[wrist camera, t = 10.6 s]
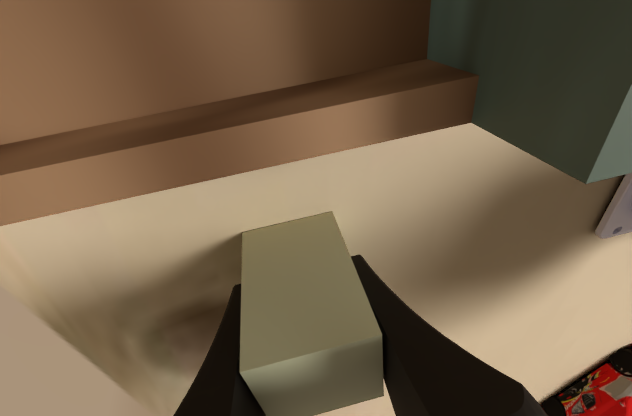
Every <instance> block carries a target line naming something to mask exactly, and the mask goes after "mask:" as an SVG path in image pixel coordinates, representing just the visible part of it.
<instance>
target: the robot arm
mask: <svg viewBox="0 0 632 416" xmlns="http://www.w3.org/2000/svg"><path fill="white" fill-rule="evenodd" d="M628 232H632V173H629V174H626V175H625V177H624V178H623V180H622V182H621V184H620V186H619V188H618V190H617V191H616V193H615V195H614V197H613V199H612V201H611V202H610V204H609V206H608V208H607V210H606V212H605V214H604V215H603V217H602V219H601V221H600V223H599V225H598V226H597V228H596V230H595V235H597V236H598V237H600V238H602V239H603V238H609V237H613V236H617V235H621V234H624V233H628ZM351 259H352V261H353V264H354V266H355V269H356V271H357V274H358V276H359V279H360V281H361V284H362V286H363V288H364V291H365V293H366V296H367V298H368V301H369V303H370V306H371V308H372V311H373V313H374V316H375V318H376V320H377V323H378V325H379V328H380V330H381V333H382V348H383V378H384V381H385V384H386V387H387V390H388V393H389V396H390V399H391V402H392V405H393V408H394V411H395V415H396V416H547V414H546V413H545V411H544V410H543V409H542V407H541V406H540V405H539V403H538V402H537V401H536V400H535V399H534V397H533V396H532V395H531V394H530V393H529V392H528V391H527V390H526V388H525V387H524V386H523V385H522V384H521V383H519V382H517V381H515V380H514V379H512V378H510V377H508V376H506V375H505V374H503V373H501V372H499V371H498V370H496V369H494V368H493V367H491V366H489V365H488V364H486V363H484V362H483V361H481V360H480V359H478V358H476V357H475V356H473V355H472V354H470V353H469V352H467V351H466V350H464V349H463V348H461V347H460V346H458V345H457V344H455V343H454V342H453V341H451V340H450V339H448V338H447V337H445V336H444V335H443V334H441V333H440V332H439V331H437V330H436V329H435V328H433V327H432V326H431V325H430V324H428V323H427V322H426V321H425V320H423V319H422V318H421V317H420V316H419V315H417V314H416V313H415V312H414V311H413V310H412V309H410V308H409V307H408V306H407V305H406V304H405V303H404V302H403V301H402V300H401V299H400V298H399V297H398V296H397V295H396V294H395V293H394V292H393V291H392V290H391V289H390V288H389V287H388V286H387V285H386V284H385V283H384V282H383V281H382V280H381V279H380V278H379V277H378V276H377V274H376V273H375V272H374V271H373V270H372V269H371V267H370V266H369V265H368V264H367V262H366V261H365V260H364V258H363V257H362V256H361V255H356V256H352V257H351ZM240 326H241V284H238V285H235V286H234V287H233V290H232V293H231V296H230V299H229V302H228V305H227V308H226V311H225V313H224V316H223V319H222V321H221V324H220V326H219V329H218V331H217V334H216V336H215V338H214V341H213V343H212V345H211V347H210V349H209V352H208V354H207V356H206V358H205V360H204V362H203V364H202V366H201V368H200V370H199V372H198V374H197V376H196V378H195V380H194V382H193V383H192V385H191V387H190V389H189V391H188V392H187V394H186V396H185V397H184V399H183V401H182V402H181V404H180V406H179V407H178V409H177V411H176V412H175V414H174V416H266V414H265V413H264V411H263V409H262V408H261V406H260V404H259V403H258V401H257V400H256V398H255V396H254V395H253V393H252V392H251V390H250V388H249V387H248V385H247V384H246V382H245V380H244V379H243V377H242V376H241V374H240Z"/></svg>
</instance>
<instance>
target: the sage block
mask: <svg viewBox="0 0 632 416" xmlns="http://www.w3.org/2000/svg"><path fill="white" fill-rule="evenodd" d="M240 374H241V376H242V377H243V379H244V380H245V382H246V384H247V385H248V387H249V388H250V390H251V392H252V393H253V395H254V396H255V398H256V400H257V401H258V403H259V404H260V406H261V408H262V409H263V411H264V413H265V414H266V416H314V415H318V414H321V413H325V412H328V411H332V410H335V409H339V408H342V407H346V406H350V405H353V404H357V403H360V402H364V401H367V400H371V399H374V398H378V397H382V396H384V390H383V348H382V333H381V330H380V328H379V325H378V323H377V320H376V318H375V316H374V313H373V311H372V308H371V306H370V303H369V301H368V298H367V296H366V293H365V291H364V288H363V286H362V284H361V281H360V279H359V276H358V274H357V271H356V269H355V266H354V264H353V261H352V259H351V256H350V254H349V252H348V249H347V247H346V244H345V242H344V239H343V237H342V234H341V232H340V229H339V227H338V224H337V222H336V220H335V217H334V215H333V212H328V213H323V214H319V215H315V216H310V217H306V218H302V219H298V220H293V221H289V222H285V223H281V224H276V225H272V226H268V227H263V228H259V229H255V230H251V231H246V232H242V278H241V326H240Z"/></svg>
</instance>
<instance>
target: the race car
mask: <svg viewBox="0 0 632 416" xmlns="http://www.w3.org/2000/svg"><path fill="white" fill-rule="evenodd" d="M609 358H610V362H611V363H606V364H604V365H603V366H601V367H600V368H598V369H597V370H596V371H594V372H593V373H591V374H590V375H588V376H587V377H585V378H584V379H582V380H581V381H579V382H578V383H576V384H575V385H573V386H572V387H570V388H569V389H567V390H566V391H564V392H563V393H561V394H560V395H558V396H551V397H549V398H548V399H547V400H545V401H544V402H542V406H543V408H542V409H543V410H544V411H545V413H546V414H547V416H632V350H629V349H619V350H618V351H617V352H616V353H614V354H612V355H611V356H610V357H609Z"/></svg>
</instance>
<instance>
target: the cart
mask: <svg viewBox="0 0 632 416" xmlns="http://www.w3.org/2000/svg"><path fill="white" fill-rule="evenodd" d="M467 123H473V124H475V125H477V126H479V127H481V128H482V129H484V130H486V131H488V132H490V133H492V134H494V135H495V136H497V137H499V138H501V139H503V140H505V141H507V142H508V143H510V144H512V145H514V146H516V147H518V148H520V149H522V150H523V151H525V152H527V153H529V154H531V155H533V156H535V157H536V158H538V159H540V160H542V161H544V162H546V163H548V164H549V165H551V166H553V167H555V168H557V169H559V170H561V171H562V172H564V173H566V174H568V175H570V176H572V177H574V178H575V179H577V180H579V181H581V182H583V183H585V184H588V183H592V182H596V181H600V180H604V179H608V178H613V177H617V176H621V175H625V174H629V173H632V0H0V226H3V225H7V224H12V223H17V222H21V221H26V220H30V219H35V218H39V217H44V216H48V215H53V214H58V213H62V212H67V211H71V210H76V209H80V208H85V207H89V206H94V205H98V204H103V203H108V202H112V201H117V200H121V199H126V198H130V197H135V196H139V195H144V194H148V193H153V192H158V191H162V190H167V189H171V188H176V187H180V186H185V185H189V184H194V183H199V182H203V181H208V180H212V179H217V178H221V177H226V176H230V175H235V174H239V173H244V172H249V171H253V170H258V169H262V168H267V167H271V166H276V165H280V164H285V163H290V162H294V161H299V160H303V159H308V158H312V157H317V156H321V155H326V154H330V153H335V152H340V151H344V150H349V149H353V148H358V147H362V146H367V145H371V144H376V143H381V142H385V141H390V140H394V139H399V138H403V137H408V136H412V135H417V134H421V133H426V132H431V131H435V130H440V129H444V128H449V127H453V126H458V125H462V124H467Z"/></svg>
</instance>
